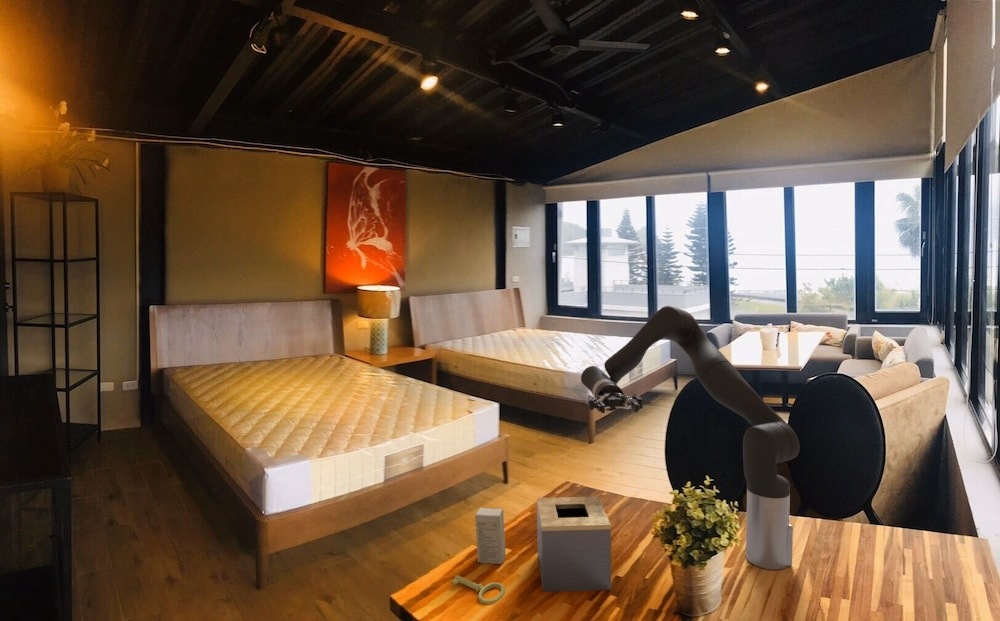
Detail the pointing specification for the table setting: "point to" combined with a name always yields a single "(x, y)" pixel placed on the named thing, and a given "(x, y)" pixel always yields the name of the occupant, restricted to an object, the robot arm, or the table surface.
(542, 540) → the grey tissue box
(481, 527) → the skincare box
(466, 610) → the table surface
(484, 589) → the key
